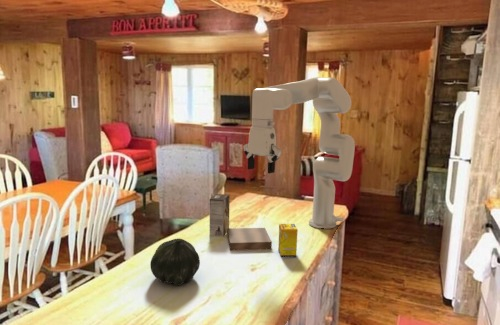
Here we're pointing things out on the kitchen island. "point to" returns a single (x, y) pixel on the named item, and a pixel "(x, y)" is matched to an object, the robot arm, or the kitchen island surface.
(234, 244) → the base
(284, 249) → the supplement box
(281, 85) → the robot arm
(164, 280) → the squash
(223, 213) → the coffee box
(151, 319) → the kitchen island surface
